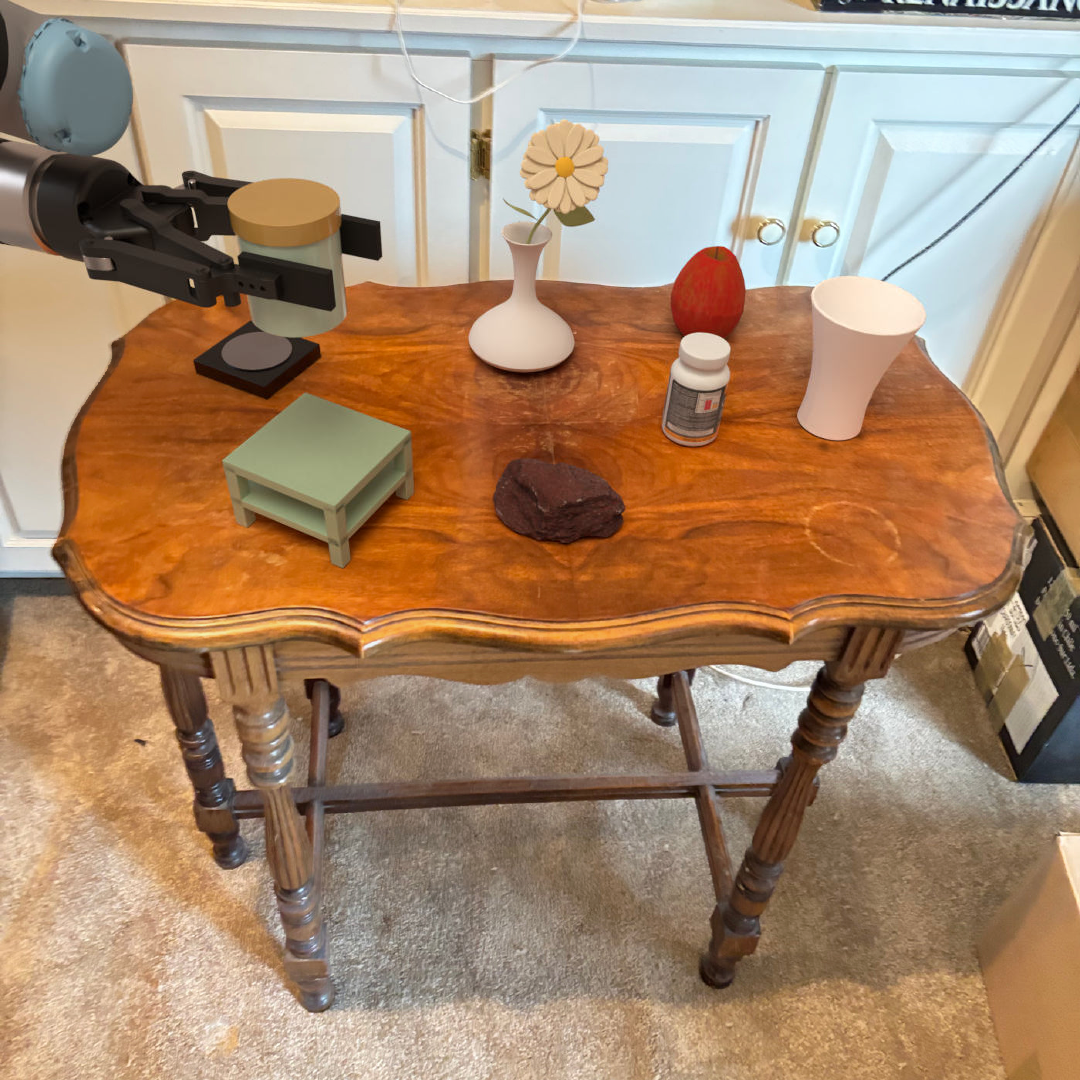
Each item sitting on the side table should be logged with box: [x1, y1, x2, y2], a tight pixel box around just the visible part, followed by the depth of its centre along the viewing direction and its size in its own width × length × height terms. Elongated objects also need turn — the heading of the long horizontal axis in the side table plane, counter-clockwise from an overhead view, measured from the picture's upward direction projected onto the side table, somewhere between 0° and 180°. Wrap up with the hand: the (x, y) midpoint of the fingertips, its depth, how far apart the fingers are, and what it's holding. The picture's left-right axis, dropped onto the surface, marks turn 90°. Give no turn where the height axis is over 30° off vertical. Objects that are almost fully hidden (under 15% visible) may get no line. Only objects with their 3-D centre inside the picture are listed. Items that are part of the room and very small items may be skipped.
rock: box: [492, 457, 626, 544], centre depth 82 cm, size 11×6×8 cm
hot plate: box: [192, 319, 322, 400], centre depth 97 cm, size 9×9×2 cm
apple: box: [670, 245, 747, 340], centre depth 103 cm, size 8×8×11 cm
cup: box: [796, 275, 927, 441], centre depth 91 cm, size 10×10×14 cm
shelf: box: [221, 392, 415, 569], centre depth 80 cm, size 11×11×7 cm
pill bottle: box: [661, 333, 732, 447], centre depth 90 cm, size 6×6×10 cm
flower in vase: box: [468, 118, 609, 373], centre depth 93 cm, size 13×11×25 cm
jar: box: [227, 177, 348, 338], centre depth 66 cm, size 7×7×8 cm
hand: (356, 265), depth 65 cm, fingers closed on jar, 7 cm apart
